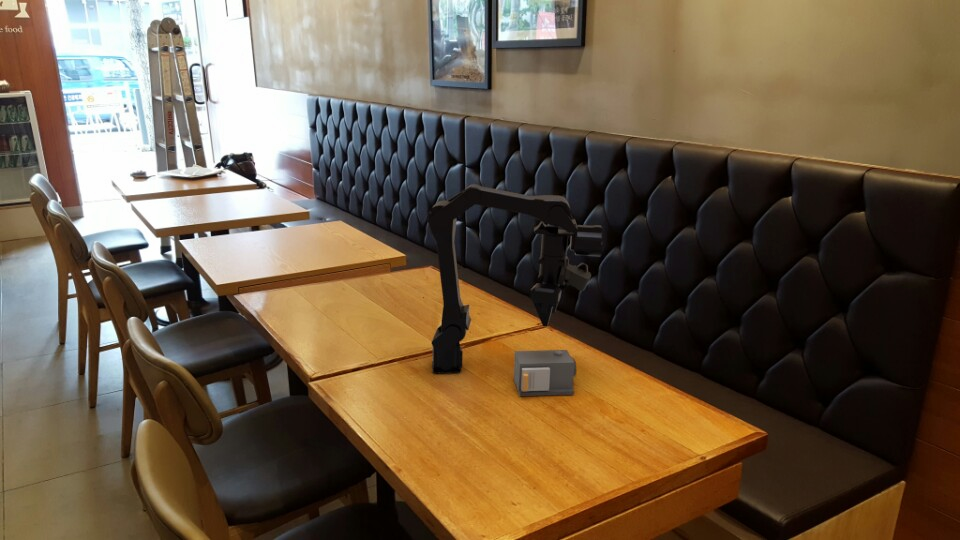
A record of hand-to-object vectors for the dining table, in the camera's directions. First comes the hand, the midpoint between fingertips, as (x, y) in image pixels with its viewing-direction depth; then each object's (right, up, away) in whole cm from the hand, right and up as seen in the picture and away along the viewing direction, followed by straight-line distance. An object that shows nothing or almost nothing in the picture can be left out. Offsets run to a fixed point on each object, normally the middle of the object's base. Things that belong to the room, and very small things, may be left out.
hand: (548, 319), depth 154 cm
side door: (-4, -15, -8) cm, 17 cm away
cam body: (-2, -15, -3) cm, 15 cm away
